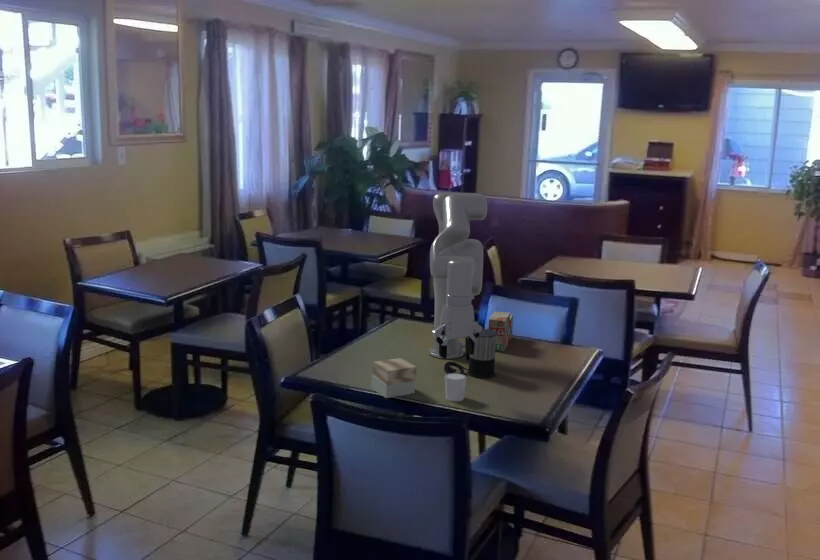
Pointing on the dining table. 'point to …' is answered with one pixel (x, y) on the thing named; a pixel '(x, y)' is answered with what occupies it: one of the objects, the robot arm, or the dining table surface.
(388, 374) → the tower top
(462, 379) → the white cylinder
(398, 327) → the dining table surface
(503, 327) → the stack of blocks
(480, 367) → the milk frother
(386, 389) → the tower bottom
